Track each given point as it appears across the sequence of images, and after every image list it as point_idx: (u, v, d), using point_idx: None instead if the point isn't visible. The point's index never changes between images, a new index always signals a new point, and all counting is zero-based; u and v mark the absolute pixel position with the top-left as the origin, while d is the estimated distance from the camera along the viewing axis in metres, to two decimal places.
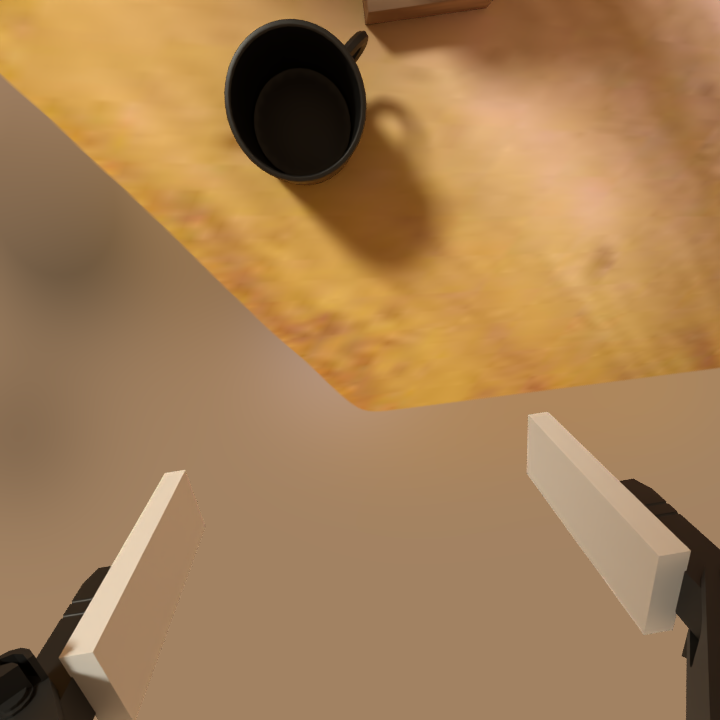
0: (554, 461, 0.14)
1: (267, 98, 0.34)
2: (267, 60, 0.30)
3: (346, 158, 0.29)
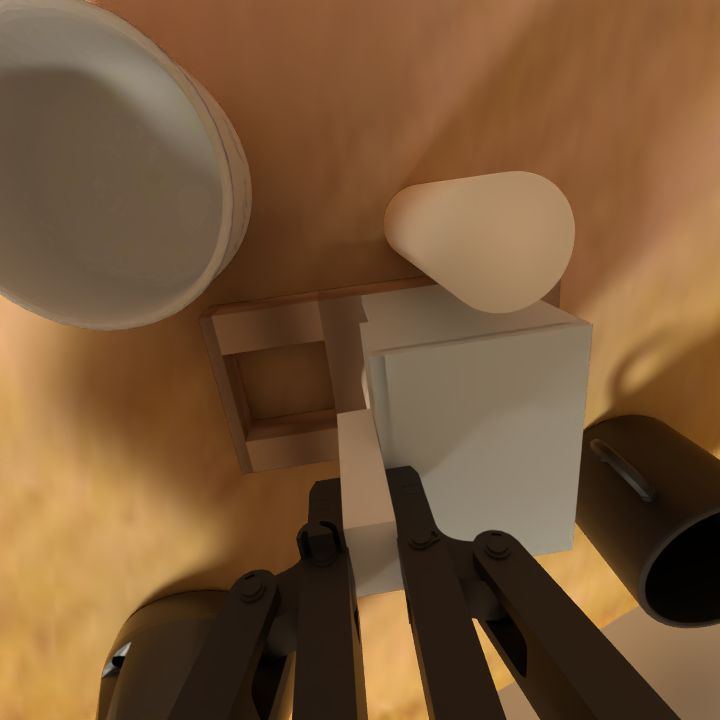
0: None
1: None
2: None
3: None
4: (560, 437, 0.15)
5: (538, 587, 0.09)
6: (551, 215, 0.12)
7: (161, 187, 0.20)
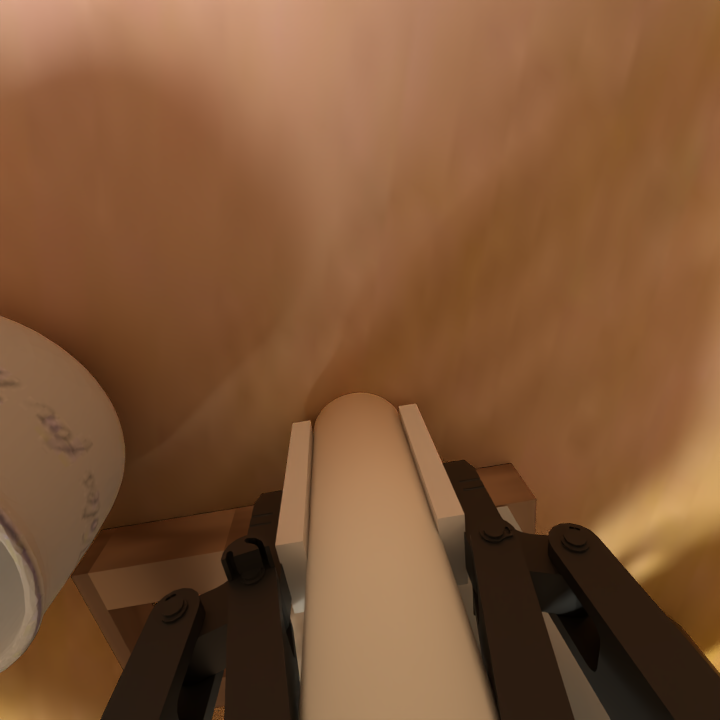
0: None
1: None
2: None
3: None
4: None
5: (618, 585, 0.09)
6: None
7: None
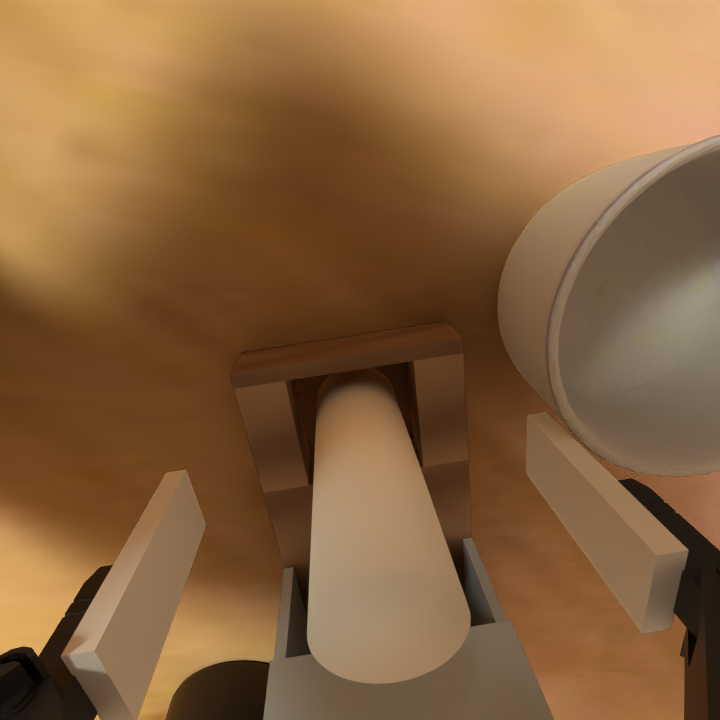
0: (553, 461, 0.14)
1: None
2: None
3: None
4: None
5: None
6: (439, 602, 0.10)
7: (591, 295, 0.19)
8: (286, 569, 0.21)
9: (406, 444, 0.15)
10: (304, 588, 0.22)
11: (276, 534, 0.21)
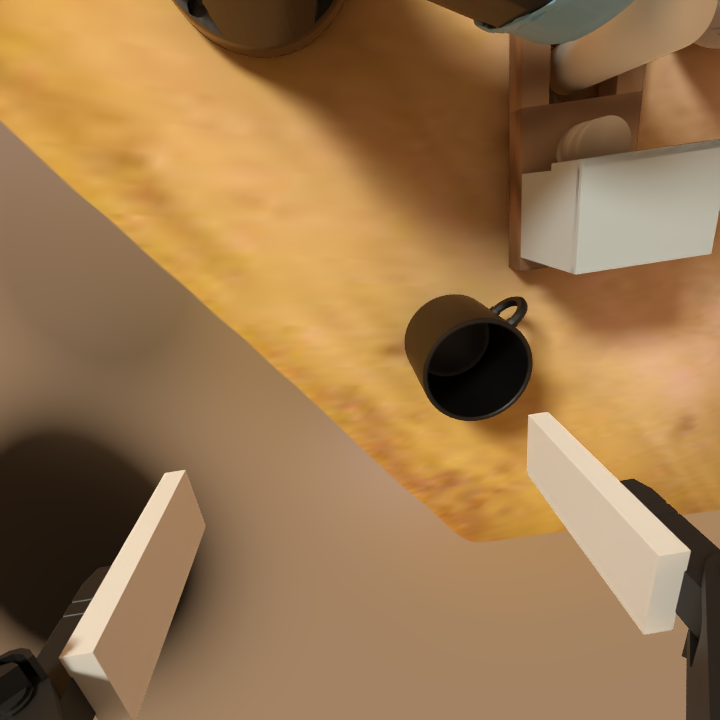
0: (554, 461, 0.14)
1: None
2: None
3: (511, 404, 0.36)
4: (655, 250, 0.29)
5: None
6: None
7: None
8: None
9: None
10: None
11: (522, 144, 0.34)
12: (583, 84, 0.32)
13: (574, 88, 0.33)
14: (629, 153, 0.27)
